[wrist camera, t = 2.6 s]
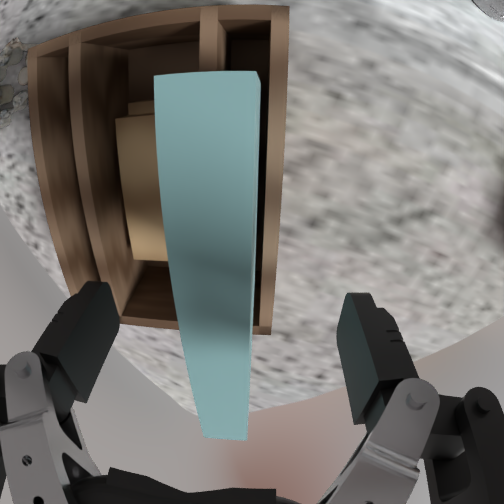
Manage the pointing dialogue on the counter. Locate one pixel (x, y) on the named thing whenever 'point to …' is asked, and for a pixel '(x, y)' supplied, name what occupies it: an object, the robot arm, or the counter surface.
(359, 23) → the counter surface
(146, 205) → the oak offcut upper
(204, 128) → the teal board
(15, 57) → the egg carton
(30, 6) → the counter surface
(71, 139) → the rack
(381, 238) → the counter surface
